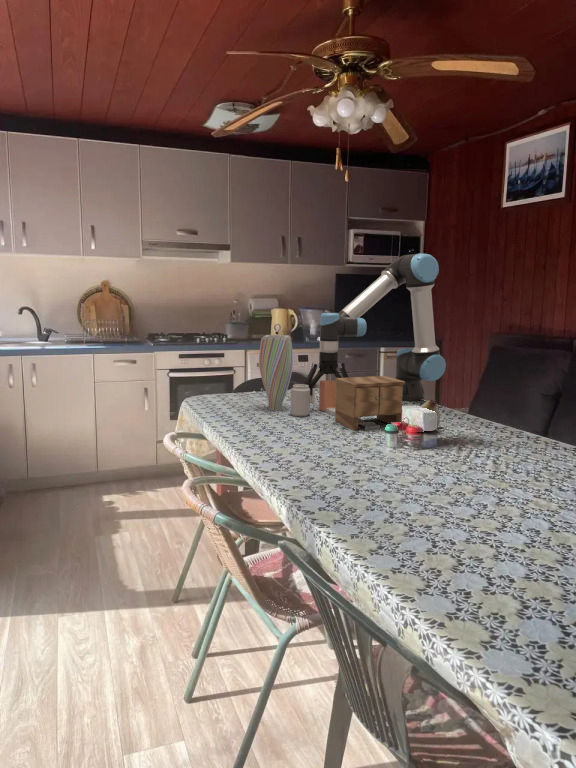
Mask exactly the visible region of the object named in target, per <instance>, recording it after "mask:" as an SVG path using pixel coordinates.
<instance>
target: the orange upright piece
mask: <svg viewBox="0 0 576 768" xmlns="http://www.w3.org/2000/svg"><path fill="white" fill-rule="evenodd" d="M318 393H319V394H318V396H319V399H318V410H320V411H322V412H326V413H328V414H330V415H332V416H334V417H335V408H336V381H335V380H332V379H323V380H321V379H319V391H318ZM363 422H365V421H364V419H362V418H361V417H358V423H363Z"/></svg>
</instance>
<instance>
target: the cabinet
mask: <svg viewBox="0 0 576 768" xmlns="http://www.w3.org/2000/svg"><path fill="white" fill-rule="evenodd" d="M334 381H335V382H336V403H335V416H334V422H336V423H337V424H339V425H341V426H343V427H346V428H348V429H350V430H352V431H356V430H357V431H358V430H359V428H358V418H365V417H376V419H377V420H380V421H382V422H385V423H387V424H390V423H391V422H401V423H402V418H403V417H402V416H403V415H402V413H403V400H402V397H403V384H405V381H401V380H397V379H396V378H394V377H390V376H387V375H378V376H377V375H373V376H372V375H371V376H355V377H352V376H351V377H349V378H343V377H342V378H336V377H335V379H334Z"/></svg>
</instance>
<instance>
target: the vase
mask: <svg viewBox="0 0 576 768" xmlns="http://www.w3.org/2000/svg"><path fill="white" fill-rule="evenodd" d="M258 354H259V355H258V356H259V357H258V365H259V366H258V367H259V373H260V377H261V381H262V384H263V387H264V391H265V393H266V396H267V399H268V401H267V403H268V411H281V410H283V403H284V399H285V397H286V394H287V392H288V388H289V385H290V382H291V377H292V373H293V367H294V353H293V344H292V337H291V336H290V335H285V334H284V335H279V334H266V335H264V336H263V337H262V338H260V345H259V352H258Z"/></svg>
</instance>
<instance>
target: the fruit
mask: <svg viewBox="0 0 576 768" xmlns="http://www.w3.org/2000/svg"><path fill="white" fill-rule="evenodd" d="M419 407H422V408H427V409H429V410H432V411H435V412H436V413H437V427H438V428H439V426H440V420H441V414H440V411H439V404H438V402H437V399H436V398H434V399H429V400H427V401H425V402H424V403H423V404H422V405H420V406H419Z"/></svg>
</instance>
